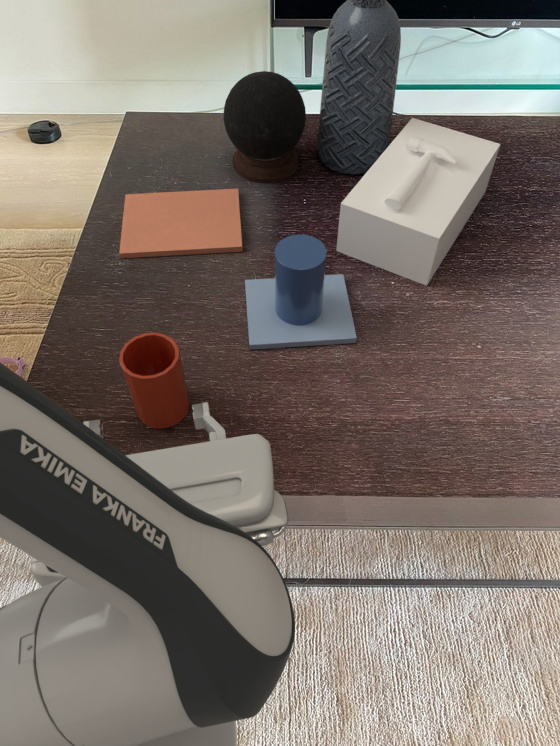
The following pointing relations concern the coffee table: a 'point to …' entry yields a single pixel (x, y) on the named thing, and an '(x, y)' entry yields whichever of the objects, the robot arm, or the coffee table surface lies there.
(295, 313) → the navy blue cylinder
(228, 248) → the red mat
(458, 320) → the coffee table surface
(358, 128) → the vase
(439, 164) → the hammer relief block
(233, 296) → the coffee table surface
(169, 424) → the terracotta cup
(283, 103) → the black ball on stand
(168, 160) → the coffee table surface
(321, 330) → the blue mat
